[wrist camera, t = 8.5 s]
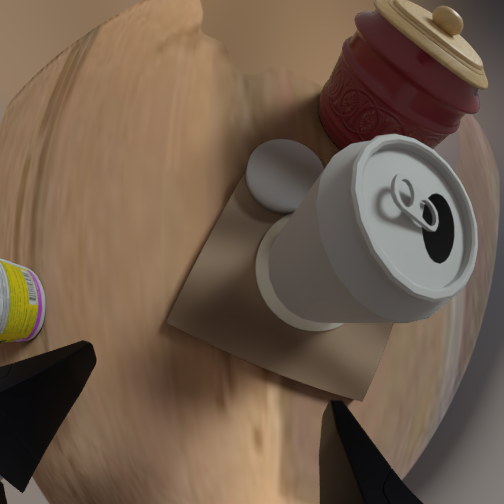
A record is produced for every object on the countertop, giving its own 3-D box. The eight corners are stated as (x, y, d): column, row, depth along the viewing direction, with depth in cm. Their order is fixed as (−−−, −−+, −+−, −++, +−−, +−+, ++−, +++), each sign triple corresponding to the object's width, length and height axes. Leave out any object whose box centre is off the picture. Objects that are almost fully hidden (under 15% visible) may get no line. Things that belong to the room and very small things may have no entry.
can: (343, 336, 18) (476, 346, 7) (248, 296, 18) (298, 262, 6) (372, 245, 20) (488, 182, 8) (288, 203, 20) (358, 87, 8)
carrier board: (355, 398, 19) (371, 406, 16) (169, 322, 19) (161, 322, 16) (410, 227, 23) (427, 217, 20) (262, 146, 23) (266, 128, 20)
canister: (369, 196, 23) (504, 71, 6) (291, 98, 25) (342, -47, 8) (432, 158, 26) (524, 75, 9) (367, 81, 28) (425, -16, 11)
